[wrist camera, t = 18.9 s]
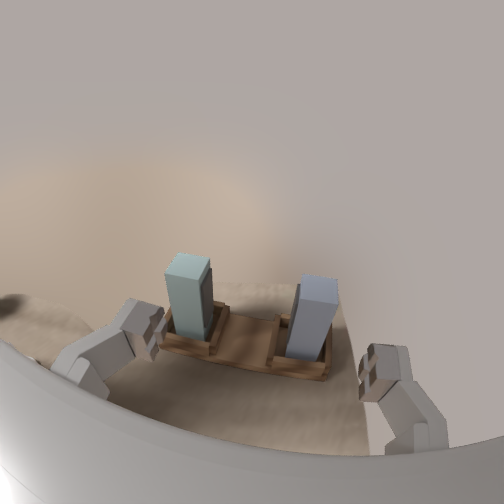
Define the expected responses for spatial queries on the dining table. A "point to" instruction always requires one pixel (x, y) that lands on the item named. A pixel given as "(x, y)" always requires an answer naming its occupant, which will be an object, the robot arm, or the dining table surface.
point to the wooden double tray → (249, 345)
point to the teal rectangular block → (191, 295)
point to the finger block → (311, 316)
